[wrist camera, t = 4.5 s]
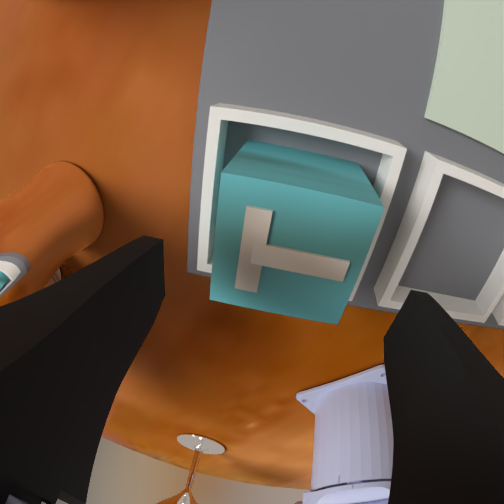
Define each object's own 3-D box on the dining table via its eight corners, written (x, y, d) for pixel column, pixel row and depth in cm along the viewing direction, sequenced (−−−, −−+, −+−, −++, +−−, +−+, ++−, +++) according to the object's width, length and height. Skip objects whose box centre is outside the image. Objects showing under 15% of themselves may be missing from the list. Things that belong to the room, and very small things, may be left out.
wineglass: (230, 459, 36) (204, 569, 21) (173, 446, 36) (140, 551, 21) (233, 439, 31) (202, 574, 16) (166, 423, 32) (123, 550, 17)
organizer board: (538, 327, 17) (548, 345, 15) (191, 264, 18) (178, 288, 16) (623, 111, 6) (642, 119, 4) (236, -90, 7) (226, -110, 5)
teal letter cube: (330, 255, 16) (337, 326, 11) (234, 235, 16) (208, 301, 12) (358, 162, 13) (385, 208, 9) (248, 139, 13) (220, 173, 9)
